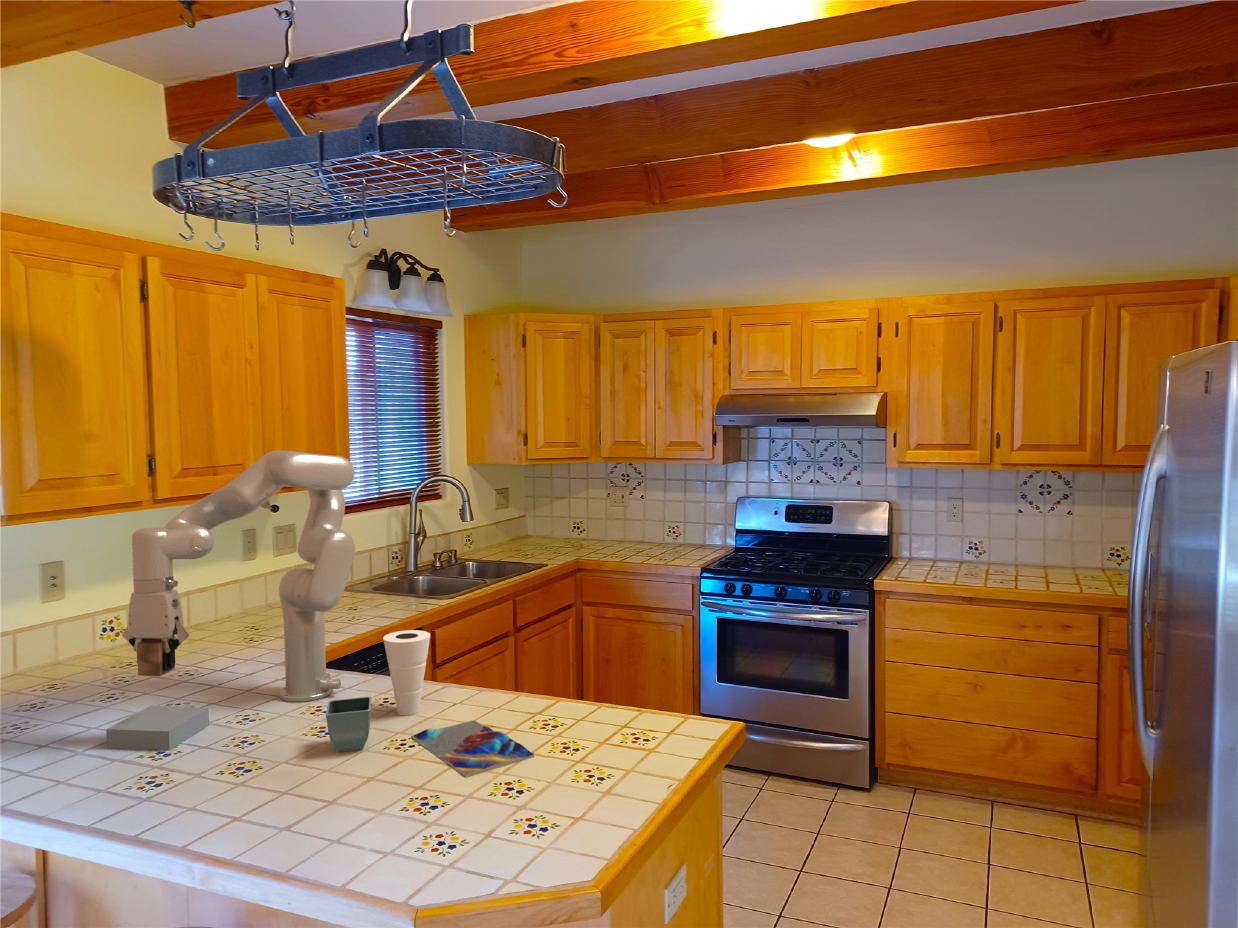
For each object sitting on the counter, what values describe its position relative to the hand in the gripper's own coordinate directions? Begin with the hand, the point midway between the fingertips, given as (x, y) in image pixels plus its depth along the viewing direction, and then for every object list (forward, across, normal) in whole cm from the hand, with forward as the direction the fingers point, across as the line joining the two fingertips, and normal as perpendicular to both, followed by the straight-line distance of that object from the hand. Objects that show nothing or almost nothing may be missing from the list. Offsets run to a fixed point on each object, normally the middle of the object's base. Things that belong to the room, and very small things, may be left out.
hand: (156, 667), depth 181 cm
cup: (+15, -49, -19) cm, 55 cm away
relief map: (+16, -69, 0) cm, 71 cm away
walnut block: (+1, 0, 0) cm, 1 cm away
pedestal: (+15, 0, 0) cm, 15 cm away
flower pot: (+15, -44, +2) cm, 47 cm away
